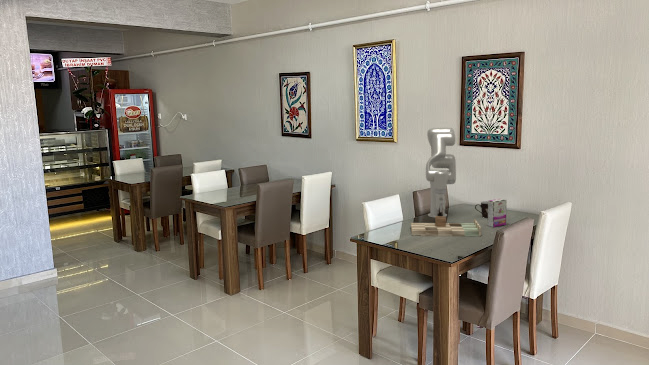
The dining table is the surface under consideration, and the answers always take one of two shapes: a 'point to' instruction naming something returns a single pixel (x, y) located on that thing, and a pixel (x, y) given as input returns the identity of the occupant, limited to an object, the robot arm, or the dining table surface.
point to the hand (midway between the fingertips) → (440, 220)
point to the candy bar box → (497, 212)
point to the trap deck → (446, 229)
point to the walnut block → (440, 221)
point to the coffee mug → (483, 209)
